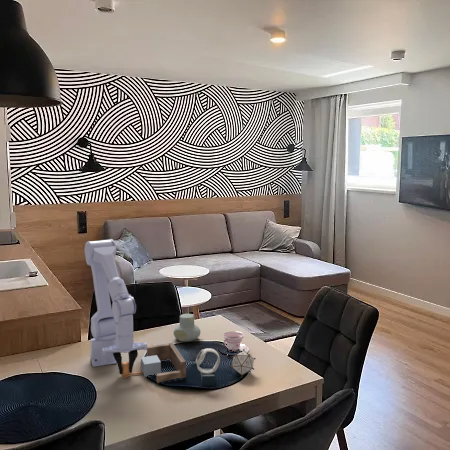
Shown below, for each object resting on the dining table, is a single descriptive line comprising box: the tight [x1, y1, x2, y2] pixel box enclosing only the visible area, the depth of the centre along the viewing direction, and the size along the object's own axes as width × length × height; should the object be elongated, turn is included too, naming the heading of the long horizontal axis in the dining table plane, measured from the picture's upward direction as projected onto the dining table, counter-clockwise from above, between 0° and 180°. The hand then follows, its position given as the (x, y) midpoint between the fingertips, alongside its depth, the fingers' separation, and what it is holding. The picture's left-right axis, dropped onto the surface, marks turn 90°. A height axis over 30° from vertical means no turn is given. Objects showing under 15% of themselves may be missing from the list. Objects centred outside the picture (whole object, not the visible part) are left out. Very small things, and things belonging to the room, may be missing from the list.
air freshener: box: [173, 313, 201, 343], centre depth 191 cm, size 11×8×10 cm
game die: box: [229, 349, 256, 378], centre depth 160 cm, size 9×8×10 cm
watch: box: [194, 347, 221, 386], centre depth 154 cm, size 6×8×11 cm
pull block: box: [121, 355, 162, 379], centre depth 160 cm, size 13×6×4 cm, turn 111°
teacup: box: [222, 330, 250, 356], centre depth 180 cm, size 12×12×6 cm
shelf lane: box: [146, 342, 187, 384], centre depth 163 cm, size 10×17×6 cm, turn 21°
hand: (125, 372), depth 158 cm, fingers closed on pull block, 3 cm apart
